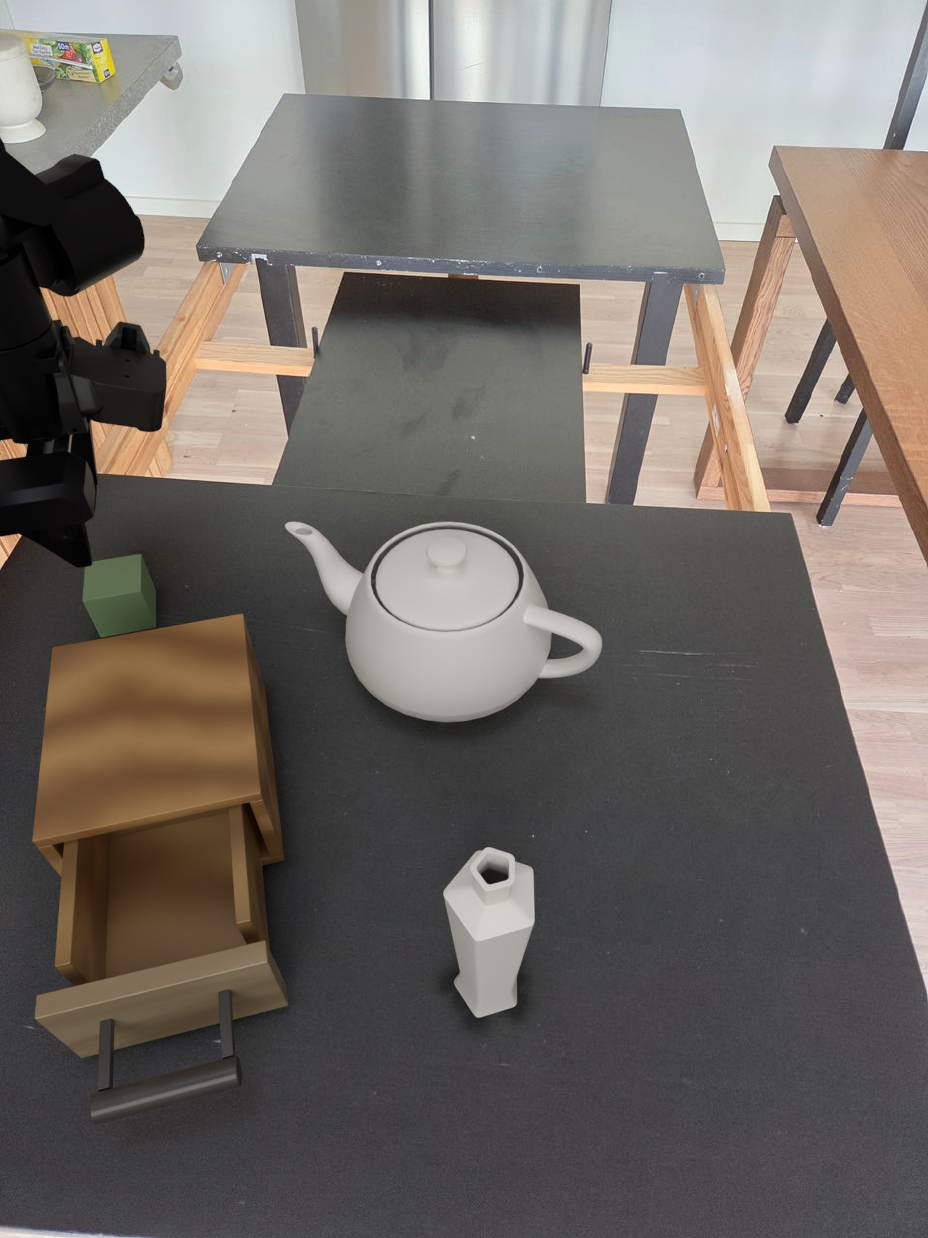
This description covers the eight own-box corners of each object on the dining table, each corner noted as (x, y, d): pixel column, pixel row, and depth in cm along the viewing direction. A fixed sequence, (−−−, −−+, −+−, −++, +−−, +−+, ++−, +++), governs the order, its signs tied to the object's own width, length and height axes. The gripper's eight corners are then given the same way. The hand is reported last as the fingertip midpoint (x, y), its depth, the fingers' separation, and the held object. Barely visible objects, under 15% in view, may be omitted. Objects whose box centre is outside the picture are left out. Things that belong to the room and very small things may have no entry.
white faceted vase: (449, 943, 51) (444, 822, 40) (521, 945, 51) (536, 824, 40) (446, 1023, 48) (439, 915, 37) (522, 1025, 48) (539, 919, 37)
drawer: (298, 1095, 45) (276, 1059, 40) (75, 1156, 43) (24, 1126, 38) (267, 803, 57) (248, 747, 52) (92, 841, 55) (54, 786, 50)
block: (100, 638, 68) (82, 600, 65) (102, 600, 71) (85, 562, 68) (156, 628, 69) (140, 590, 66) (156, 590, 72) (141, 553, 69)
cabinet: (284, 861, 55) (260, 792, 49) (84, 906, 53) (31, 841, 47) (265, 689, 65) (242, 613, 58) (94, 722, 63) (52, 647, 56)
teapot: (620, 638, 68) (644, 524, 59) (554, 793, 58) (570, 685, 49) (350, 552, 75) (333, 437, 66) (251, 678, 65) (216, 564, 56)
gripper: (138, 393, 46) (203, 591, 58) (141, 248, 58) (194, 436, 70) (-80, 422, 44) (33, 621, 56) (-30, 266, 57) (54, 456, 68)
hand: (88, 523), depth 63 cm, fingers open, 9 cm apart
